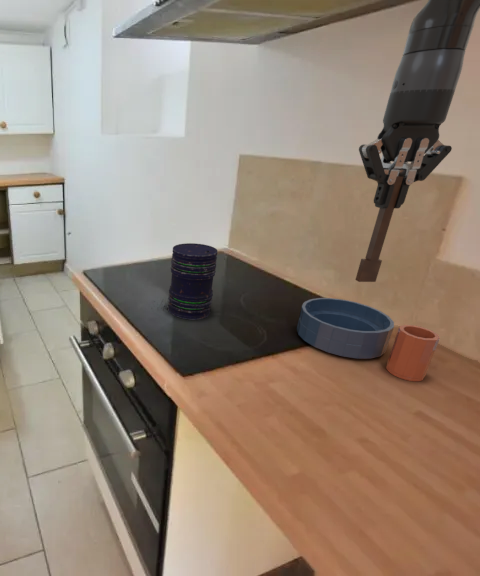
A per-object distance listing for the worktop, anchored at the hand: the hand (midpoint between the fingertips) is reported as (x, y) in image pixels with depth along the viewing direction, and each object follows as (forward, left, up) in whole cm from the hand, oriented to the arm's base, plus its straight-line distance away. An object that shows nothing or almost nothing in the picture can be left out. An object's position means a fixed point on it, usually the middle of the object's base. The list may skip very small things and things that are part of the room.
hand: (387, 207), depth 62 cm
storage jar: (+26, -18, -28) cm, 42 cm away
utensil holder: (-6, +7, -27) cm, 29 cm away
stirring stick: (0, 0, -13) cm, 13 cm away
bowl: (-1, -4, -27) cm, 28 cm away
